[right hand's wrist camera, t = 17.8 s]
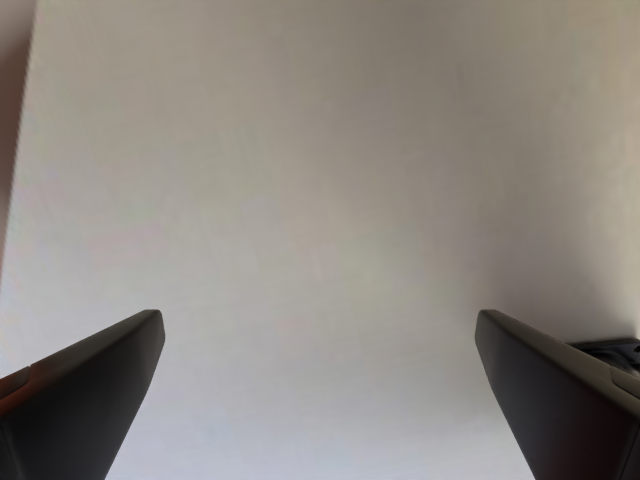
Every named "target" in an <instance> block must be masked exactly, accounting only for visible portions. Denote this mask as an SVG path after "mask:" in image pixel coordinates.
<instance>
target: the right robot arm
mask: <svg viewBox="0 0 640 480" xmlns="http://www.w3.org/2000/svg"><path fill="white" fill-rule="evenodd" d="M164 343H165V331H164V325H163V318H162V314H161V312H160V311H159V310H143V311H141V312H139V313H137V314H135V315H133V316H131V317H129V318H127V319H125V320H123V321H120V322H118V323H116V324H114V325H112V326H110V327H108V328H106V329H104V330H102V331H100V332H98V333H96V334H94V335H91V336H89V337H87V338H85V339H83V340H81V341H79V342H77V343H75V344H73V345H71V346H69V347H67V348H65V349H62V350H60V351H58V352H56V353H54V354H52V355H50V356H48V357H46V358H44V359H42V360H40V361H38V362H36V363H33V364H31V365H30V367H29V366H27V367H25V368H23V369H21V370H19V371H17V372H15V373H13V374H10V375H8V376H6V377H4V378H2V379H0V480H105V478H106V476H107V473H108V471H109V469H110V467H111V465H112V463H113V461H114V459H115V457H116V455H117V453H118V451H119V449H120V447H121V445H122V443H123V441H124V438H125V436H126V434H127V432H128V430H129V428H130V426H131V424H132V422H133V420H134V418H135V416H136V414H137V412H138V410H139V408H140V405H141V403H142V401H143V399H144V397H145V395H146V393H147V391H148V388H149V386H150V383H151V380H152V377H153V375H154V372H155V369H156V366H157V363H158V360H159V357H160V354H161V352H162V349H163V346H164ZM475 343H476V346H477V349H478V352H479V354H480V357H481V360H482V363H483V366H484V369H485V372H486V375H487V377H488V380H489V383H490V386H491V388H492V391H493V393H494V395H495V397H496V399H497V401H498V403H499V405H500V408H501V410H502V412H503V414H504V416H505V418H506V420H507V422H508V424H509V426H510V428H511V430H512V432H513V434H514V436H515V438H516V441H517V443H518V445H519V447H520V449H521V451H522V453H523V455H524V457H525V459H526V461H527V463H528V465H529V467H530V469H531V471H532V473H533V476H534V478H535V480H640V340H639V339H627V340H617V341H607V342H598V343H588V344H578V345H567V344H565V343H563V342H561V341H559V340H557V339H555V338H553V337H551V336H549V335H546V334H544V333H542V332H540V331H538V330H536V329H534V328H532V327H530V326H528V325H526V324H524V323H522V322H520V321H517V320H515V319H513V318H511V317H509V316H507V315H505V314H503V313H501V312H499V311H497V310H481V311H480V312H479V314H478V318H477V325H476V331H475ZM636 346H637V347H636ZM635 347H636V348H635Z"/></svg>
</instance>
